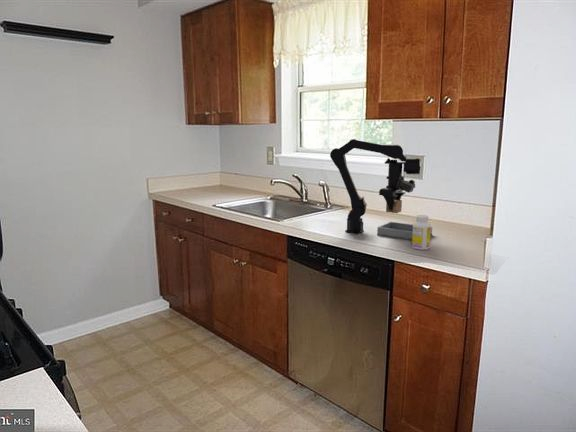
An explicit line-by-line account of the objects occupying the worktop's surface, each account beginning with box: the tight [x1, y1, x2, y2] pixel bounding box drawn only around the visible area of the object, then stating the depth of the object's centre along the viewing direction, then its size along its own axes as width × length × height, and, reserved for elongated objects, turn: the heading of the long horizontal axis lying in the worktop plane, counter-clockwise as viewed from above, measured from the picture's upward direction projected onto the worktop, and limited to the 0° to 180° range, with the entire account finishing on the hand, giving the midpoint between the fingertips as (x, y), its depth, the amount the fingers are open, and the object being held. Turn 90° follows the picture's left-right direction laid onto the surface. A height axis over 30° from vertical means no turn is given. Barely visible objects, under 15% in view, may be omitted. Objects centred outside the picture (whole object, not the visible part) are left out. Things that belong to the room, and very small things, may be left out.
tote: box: [376, 221, 433, 241], centre depth 190 cm, size 20×14×4 cm
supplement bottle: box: [411, 214, 432, 251], centre depth 169 cm, size 7×7×13 cm
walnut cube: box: [385, 199, 403, 214], centre depth 191 cm, size 5×5×5 cm
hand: (393, 209), depth 191 cm, fingers closed on walnut cube, 5 cm apart
